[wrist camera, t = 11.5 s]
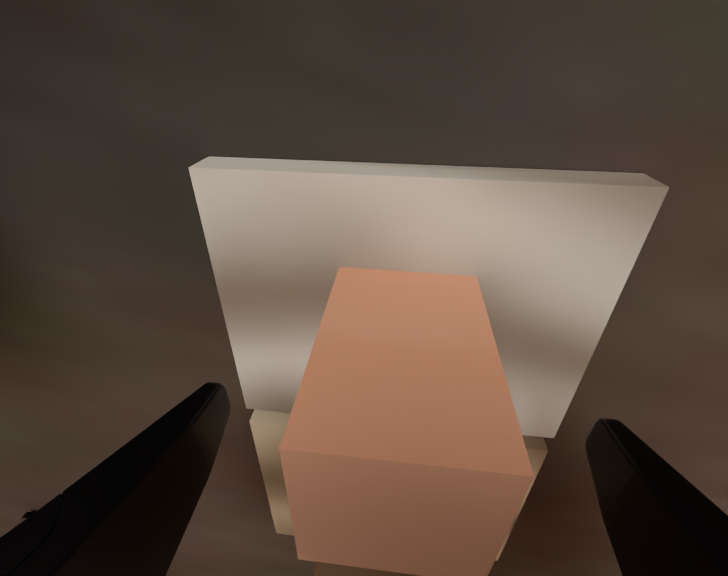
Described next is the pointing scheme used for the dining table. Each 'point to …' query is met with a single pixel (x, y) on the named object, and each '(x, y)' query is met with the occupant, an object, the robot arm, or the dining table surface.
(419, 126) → the dining table surface
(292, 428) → the salmon orange block
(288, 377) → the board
